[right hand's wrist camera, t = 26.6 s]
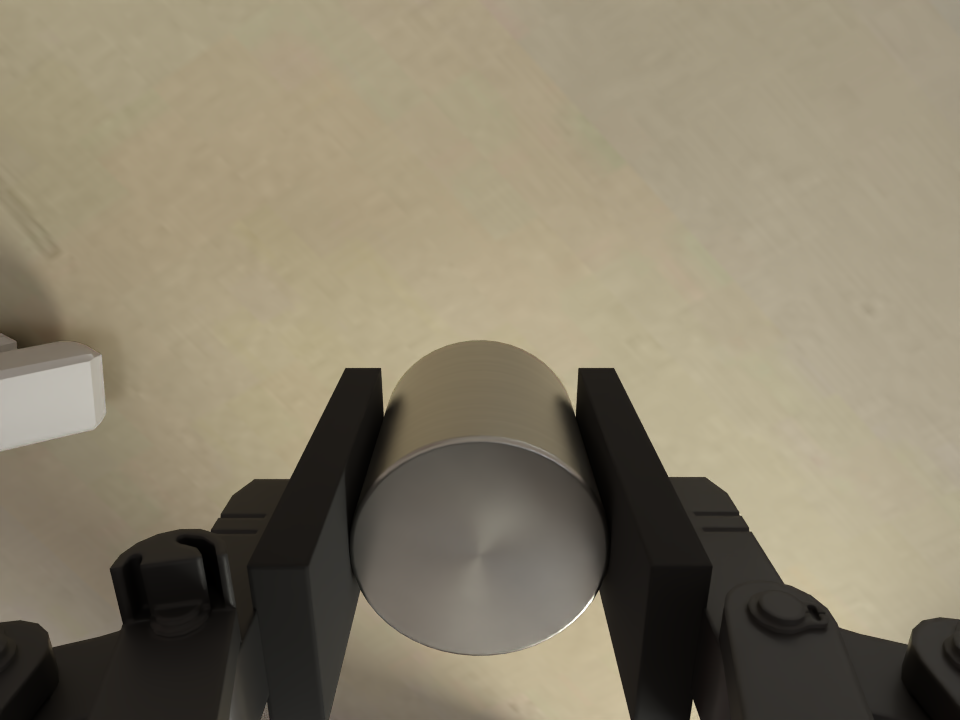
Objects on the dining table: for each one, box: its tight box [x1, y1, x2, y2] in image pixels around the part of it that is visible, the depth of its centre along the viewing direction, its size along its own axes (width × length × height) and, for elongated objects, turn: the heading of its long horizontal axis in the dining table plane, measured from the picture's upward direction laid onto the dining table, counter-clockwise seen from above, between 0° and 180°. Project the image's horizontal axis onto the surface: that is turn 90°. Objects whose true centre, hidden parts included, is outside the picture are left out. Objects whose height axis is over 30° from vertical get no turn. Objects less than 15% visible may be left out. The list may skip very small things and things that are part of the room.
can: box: [349, 340, 610, 656], centre depth 13 cm, size 4×4×5 cm
